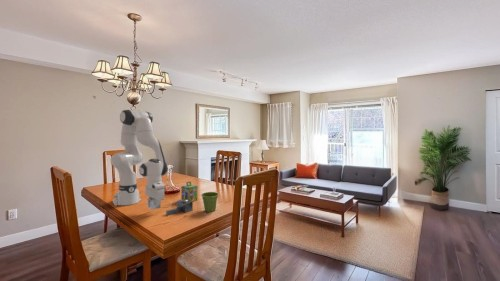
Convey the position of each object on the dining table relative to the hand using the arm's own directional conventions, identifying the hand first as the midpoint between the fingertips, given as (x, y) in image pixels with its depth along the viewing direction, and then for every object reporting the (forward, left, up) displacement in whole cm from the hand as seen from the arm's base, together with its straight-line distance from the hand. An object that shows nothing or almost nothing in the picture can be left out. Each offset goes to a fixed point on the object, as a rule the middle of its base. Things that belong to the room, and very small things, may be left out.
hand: (154, 204), depth 155 cm
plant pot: (+24, +28, -6) cm, 37 cm away
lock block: (0, 0, -2) cm, 2 cm away
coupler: (+10, +12, -6) cm, 17 cm away
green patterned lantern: (-6, +32, -6) cm, 33 cm away
